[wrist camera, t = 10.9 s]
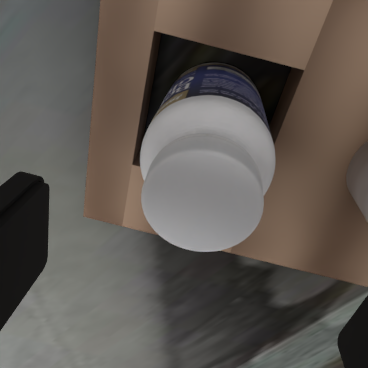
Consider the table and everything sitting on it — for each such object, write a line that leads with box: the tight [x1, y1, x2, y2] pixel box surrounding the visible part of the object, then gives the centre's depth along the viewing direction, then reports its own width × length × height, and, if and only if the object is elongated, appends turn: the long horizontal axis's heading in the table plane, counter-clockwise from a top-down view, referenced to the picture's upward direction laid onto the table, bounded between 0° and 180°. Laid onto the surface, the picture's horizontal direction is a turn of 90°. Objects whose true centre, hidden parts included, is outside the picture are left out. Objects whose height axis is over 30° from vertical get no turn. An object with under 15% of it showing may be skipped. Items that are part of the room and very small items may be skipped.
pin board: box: [83, 0, 368, 287], centre depth 14 cm, size 22×16×12 cm
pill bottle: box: [140, 63, 275, 252], centre depth 15 cm, size 5×5×10 cm
